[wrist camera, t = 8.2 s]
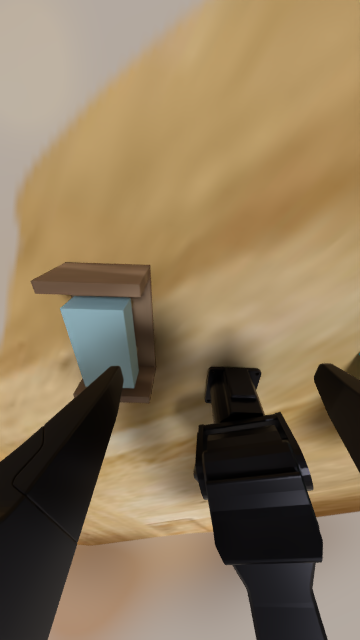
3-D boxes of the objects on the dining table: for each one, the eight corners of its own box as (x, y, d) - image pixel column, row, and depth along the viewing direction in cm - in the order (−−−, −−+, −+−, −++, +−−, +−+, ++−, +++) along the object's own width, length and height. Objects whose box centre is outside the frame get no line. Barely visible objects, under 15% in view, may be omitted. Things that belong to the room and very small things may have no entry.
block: (74, 295, 18) (60, 308, 16) (130, 297, 18) (123, 310, 16) (94, 369, 23) (85, 386, 21) (138, 370, 23) (134, 388, 20)
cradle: (155, 369, 26) (149, 403, 22) (93, 367, 26) (75, 400, 22) (150, 264, 19) (139, 284, 15) (65, 262, 19) (30, 280, 15)
